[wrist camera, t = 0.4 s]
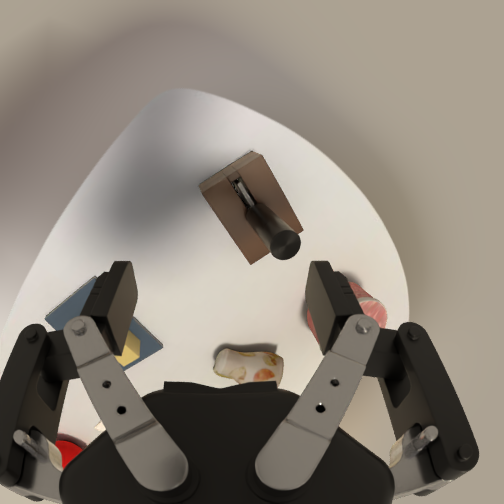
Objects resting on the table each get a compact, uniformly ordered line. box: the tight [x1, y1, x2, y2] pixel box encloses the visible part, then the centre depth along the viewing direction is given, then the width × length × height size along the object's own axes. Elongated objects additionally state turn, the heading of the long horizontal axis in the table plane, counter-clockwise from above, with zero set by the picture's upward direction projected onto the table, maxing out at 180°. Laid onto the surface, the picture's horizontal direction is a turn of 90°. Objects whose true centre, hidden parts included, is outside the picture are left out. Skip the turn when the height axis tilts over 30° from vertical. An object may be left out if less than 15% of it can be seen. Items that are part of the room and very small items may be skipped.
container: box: [307, 282, 387, 356], centre depth 42 cm, size 10×10×8 cm
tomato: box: [55, 440, 82, 469], centre depth 42 cm, size 10×10×10 cm
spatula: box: [232, 179, 301, 260], centre depth 30 cm, size 8×3×13 cm, turn 30°
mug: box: [214, 348, 284, 388], centre depth 43 cm, size 8×10×10 cm
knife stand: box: [199, 151, 303, 265], centre depth 34 cm, size 10×7×4 cm
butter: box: [45, 276, 163, 371], centre depth 36 cm, size 14×11×4 cm
